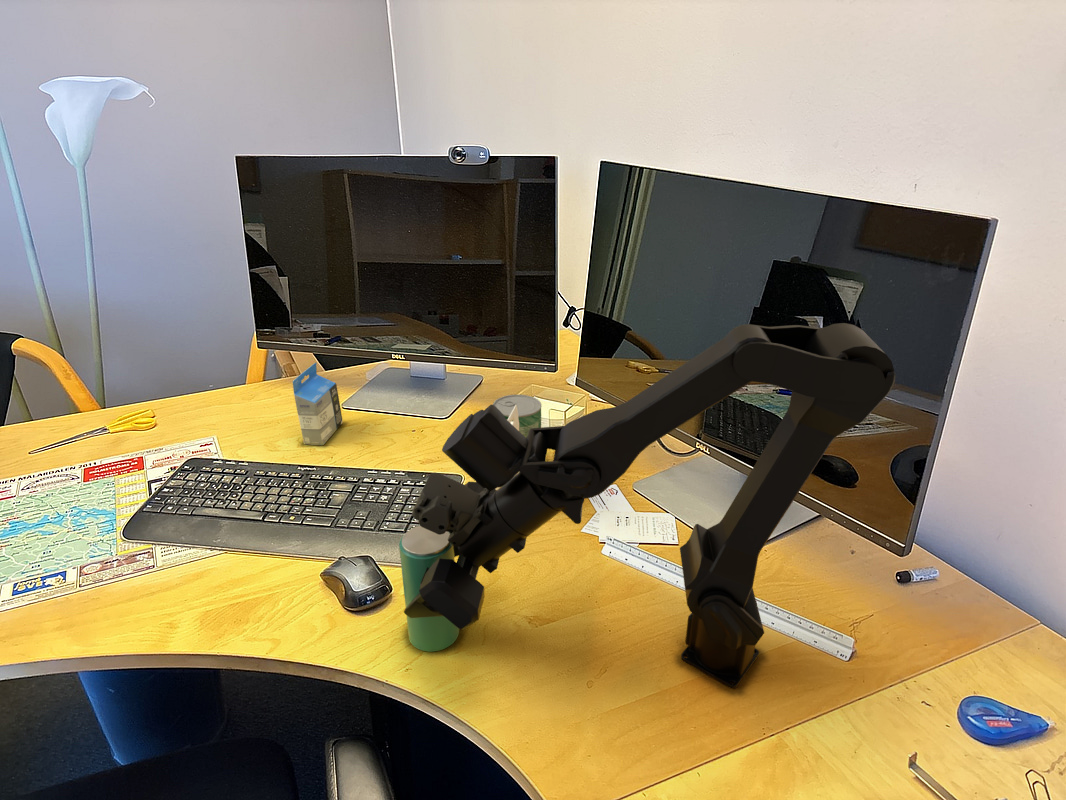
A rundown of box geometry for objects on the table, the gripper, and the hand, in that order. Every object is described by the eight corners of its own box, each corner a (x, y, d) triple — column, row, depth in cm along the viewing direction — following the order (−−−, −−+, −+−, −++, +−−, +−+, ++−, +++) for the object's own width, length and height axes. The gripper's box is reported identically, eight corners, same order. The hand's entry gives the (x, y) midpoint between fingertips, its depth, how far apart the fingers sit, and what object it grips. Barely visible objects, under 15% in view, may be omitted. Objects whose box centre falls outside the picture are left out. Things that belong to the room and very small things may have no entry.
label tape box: (323, 446, 118) (313, 382, 113) (301, 444, 119) (290, 380, 113) (343, 423, 126) (335, 362, 121) (323, 422, 126) (314, 361, 121)
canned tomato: (549, 458, 114) (550, 400, 109) (527, 480, 108) (527, 419, 103) (508, 448, 117) (507, 390, 113) (485, 468, 111) (483, 409, 106)
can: (469, 630, 78) (464, 536, 73) (432, 660, 74) (423, 563, 69) (435, 607, 82) (428, 516, 76) (398, 634, 78) (387, 540, 72)
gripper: (475, 418, 76) (389, 494, 82) (435, 513, 59) (330, 600, 65) (544, 482, 79) (456, 551, 84) (524, 590, 62) (415, 667, 68)
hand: (418, 586), depth 75 cm, fingers open, 8 cm apart
